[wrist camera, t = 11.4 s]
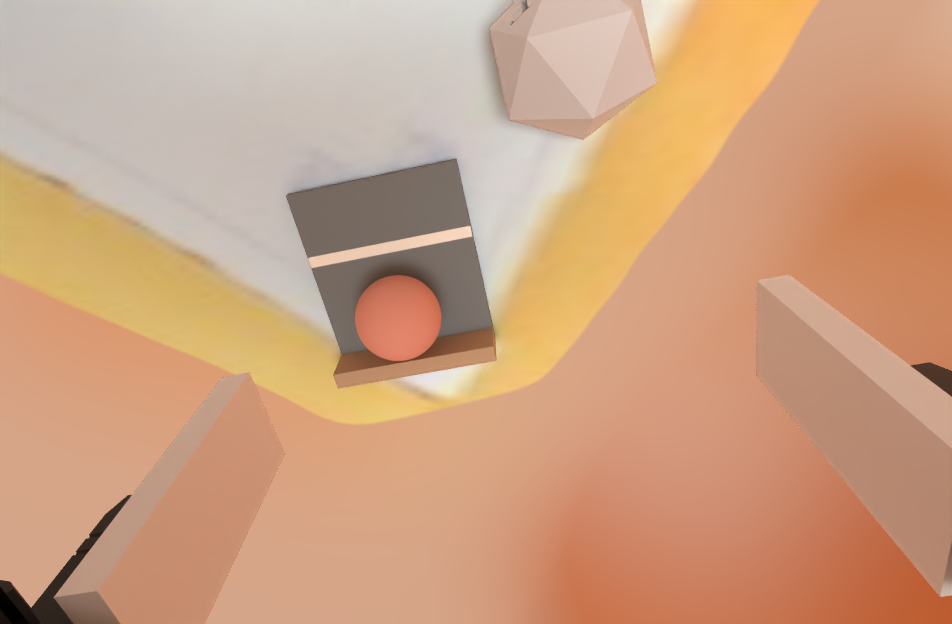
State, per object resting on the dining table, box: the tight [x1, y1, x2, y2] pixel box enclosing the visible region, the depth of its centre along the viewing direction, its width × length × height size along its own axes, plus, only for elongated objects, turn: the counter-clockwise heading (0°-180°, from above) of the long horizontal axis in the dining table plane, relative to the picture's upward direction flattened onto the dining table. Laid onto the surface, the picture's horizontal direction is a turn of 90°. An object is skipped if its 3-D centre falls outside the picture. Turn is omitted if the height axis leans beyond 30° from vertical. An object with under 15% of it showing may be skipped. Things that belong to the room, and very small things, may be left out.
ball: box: [355, 275, 441, 361], centre depth 40 cm, size 6×6×6 cm
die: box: [489, 0, 657, 140], centre depth 32 cm, size 8×9×10 cm
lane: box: [286, 159, 496, 388], centre depth 41 cm, size 14×12×4 cm
